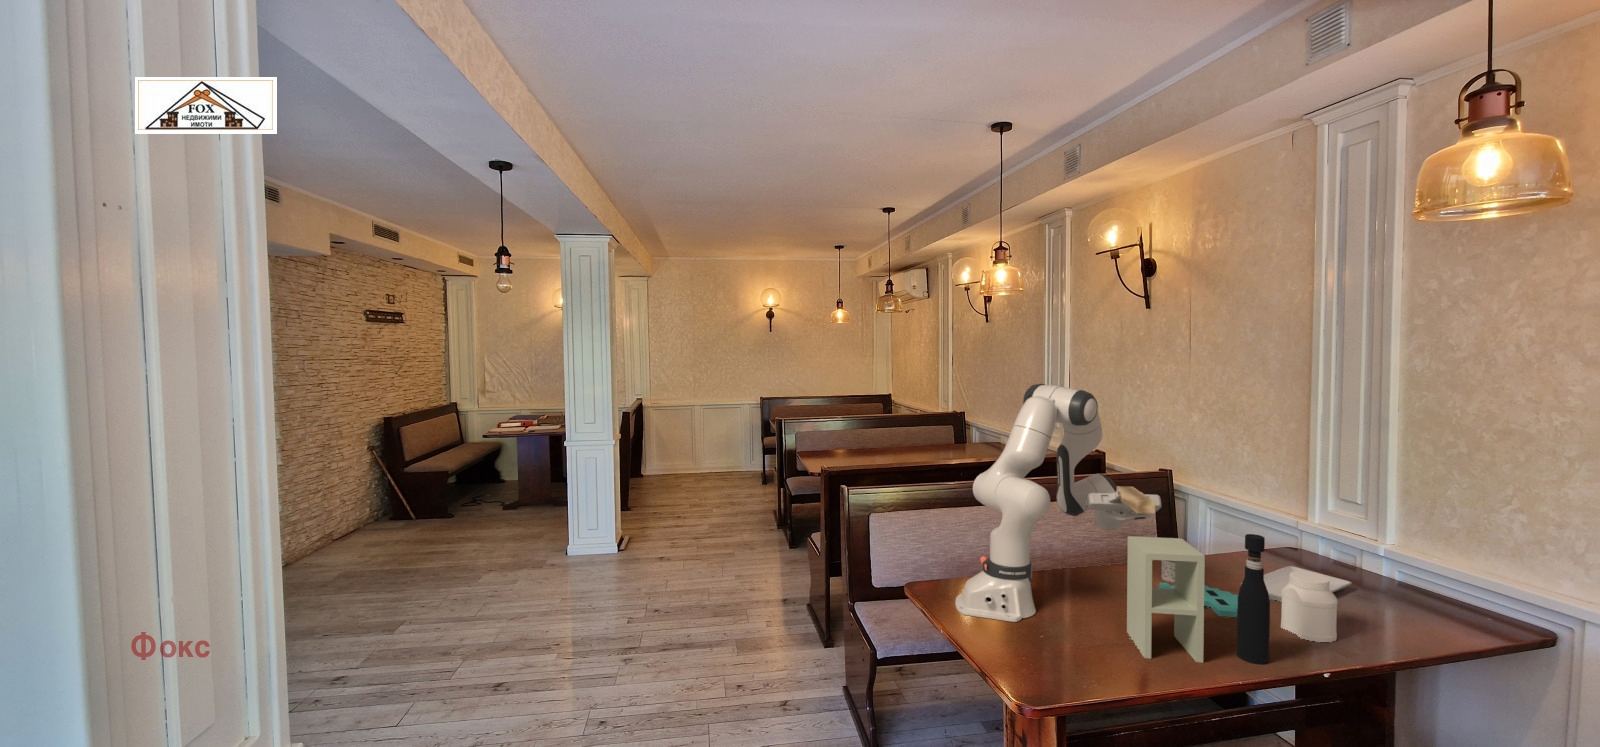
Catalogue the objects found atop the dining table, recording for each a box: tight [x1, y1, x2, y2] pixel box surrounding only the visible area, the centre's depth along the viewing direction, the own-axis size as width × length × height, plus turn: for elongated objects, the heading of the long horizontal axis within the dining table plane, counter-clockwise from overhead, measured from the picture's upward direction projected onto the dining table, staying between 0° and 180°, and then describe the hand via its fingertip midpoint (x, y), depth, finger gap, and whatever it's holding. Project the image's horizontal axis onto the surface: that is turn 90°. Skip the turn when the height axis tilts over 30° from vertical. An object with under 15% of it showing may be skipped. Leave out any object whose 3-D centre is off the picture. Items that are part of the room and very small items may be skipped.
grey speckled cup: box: [1160, 560, 1175, 584], centre depth 208 cm, size 10×7×7 cm
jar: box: [1280, 571, 1338, 643], centre depth 167 cm, size 12×10×15 cm
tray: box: [1240, 565, 1353, 603], centre depth 195 cm, size 17×32×4 cm, turn 119°
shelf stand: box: [1126, 535, 1206, 664], centre depth 160 cm, size 13×14×26 cm
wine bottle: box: [1236, 533, 1271, 665], centre depth 154 cm, size 6×6×30 cm
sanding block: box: [1116, 485, 1156, 516], centre depth 183 cm, size 4×19×4 cm, turn 169°
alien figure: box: [1159, 582, 1238, 617], centre depth 188 cm, size 20×2×20 cm
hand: (1129, 494), depth 187 cm, fingers closed on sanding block, 4 cm apart
